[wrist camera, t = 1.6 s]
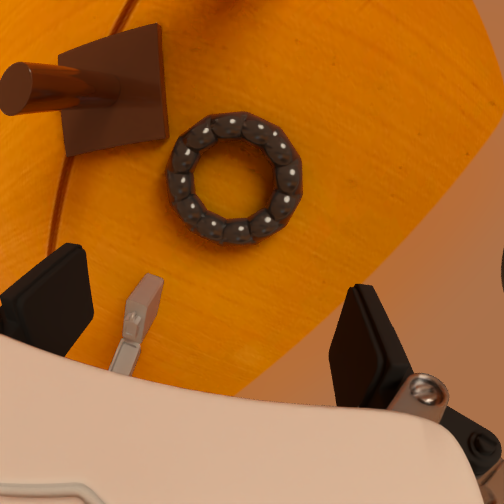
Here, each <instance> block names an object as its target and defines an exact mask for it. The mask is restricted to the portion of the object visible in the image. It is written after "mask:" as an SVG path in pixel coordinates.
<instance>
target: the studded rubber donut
mask: <svg viewBox="0 0 504 504" xmlns="http://www.w3.org/2000/svg"><path fill="white" fill-rule="evenodd" d="M238 140H241V141H243V142H245V143H247V144H249V145H251V146H253V147H255V148H258V149H260V150H261V151H262V153H263V154H264V156H265V157H266V159H267V160H268V162H269V163H270V165H271V166H272V168H273V181H274V190H273V192H272V194H271V196H270V197H269V199H268V201H267V203H266V205H265V207H264V208H262V209H260V210H259V211H257V212H256V213H254V214H252V215H251V216H249V217H248V218H233V219H226V218H224V217H222V216H220V215H217V214H215V213H213V212H211V211H209V210H207V208H206V207H205V205H204V204H203V203H202V201H201V200H200V199H199V197H198V196H197V195H196V192H195V184H194V175H193V172H194V170H195V168H196V165H197V163H198V161H199V159H200V156H201V154H203V153H204V152H205V151H207V150H208V149H210V148H211V147H212V146H214V145H215V144H217V143H218V142H226V141H238ZM165 176H166V184H167V191H168V198H169V203H170V205H171V207H172V208H173V210H174V211H175V212H176V214H177V215H178V216H179V218H180V219H181V220H182V222H183V223H184V224H185V226H186V227H187V228H188V230H189V231H190V232H192V233H194V234H196V235H198V236H200V237H202V238H204V239H206V240H208V241H211V242H213V243H215V244H217V245H219V246H244V245H256V244H258V243H260V242H261V241H263V240H265V239H266V238H268V237H270V236H272V235H273V234H275V233H277V232H278V231H280V230H282V229H283V228H284V227H285V226H286V225H287V224H288V222H289V220H290V218H291V217H292V215H293V213H294V211H295V209H296V208H297V206H298V204H299V202H300V200H301V198H302V195H303V180H302V161H301V158H300V156H299V154H298V153H297V151H296V150H295V148H294V147H293V145H292V143H291V142H290V140H289V139H288V137H287V136H286V134H285V133H284V132H283V130H282V129H281V128H280V127H278V126H277V125H275V124H273V123H270V122H268V121H266V120H264V119H262V118H260V117H258V116H256V115H254V114H251V113H249V112H245V111H241V112H229V113H219V114H211V115H208V116H206V117H204V118H203V119H201V120H200V121H199V122H197V123H196V124H195V125H193V126H192V127H191V128H189V129H188V130H187V131H185V132H184V133H183V134H181V135H180V136H179V137H178V139H177V141H176V143H175V146H174V148H173V151H172V153H171V155H170V158H169V160H168V163H167V165H166V168H165Z"/></svg>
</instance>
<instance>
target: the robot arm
mask: <svg viewBox="0 0 504 504" xmlns="http://www.w3.org/2000/svg"><path fill="white" fill-rule="evenodd" d="M0 299H1V303H2V306H1V307H0V504H504V460H503V459H502V458H501V452H502V450H501V444H500V442H499V440H498V439H497V437H496V436H495V435H494V434H493V433H492V432H490V431H489V430H487V429H486V428H484V427H482V426H480V425H479V424H477V423H475V422H474V421H472V420H470V419H468V418H467V417H465V416H463V415H462V414H460V413H458V412H457V411H455V410H453V409H452V408H450V407H448V406H447V404H448V401H449V393H448V390H447V388H446V386H445V385H444V384H443V383H442V382H441V381H440V380H439V379H437V378H436V377H434V376H432V375H429V374H425V373H415V374H414V372H413V370H412V367H411V365H410V363H409V361H408V358H407V356H406V354H405V352H404V349H403V347H402V345H401V343H400V340H399V339H398V337H397V334H396V332H395V330H394V328H393V326H392V324H391V322H390V320H389V318H388V316H387V314H386V312H385V310H384V308H383V306H382V304H381V302H380V300H379V298H378V296H377V294H376V292H375V290H374V288H373V286H371V285H364V284H355V286H354V287H350V288H349V289H348V292H347V295H346V299H345V302H344V305H343V308H342V312H341V315H340V318H339V321H338V324H337V328H336V331H335V334H334V337H333V340H332V343H331V346H330V349H329V362H330V368H331V374H332V380H333V386H334V391H335V397H336V404H337V406H325V405H308V404H295V403H294V404H293V403H283V402H273V401H264V400H255V399H247V398H240V397H233V396H226V395H220V394H213V393H207V392H202V391H196V390H191V389H185V388H180V387H175V386H170V385H165V384H161V383H156V382H152V381H148V380H143V379H139V378H135V377H131V376H127V375H123V374H119V373H115V372H112V371H108V370H105V369H101V368H98V367H94V366H91V365H87V364H84V363H81V362H78V361H75V360H71V359H68V358H65V355H66V354H67V352H68V351H69V350H70V348H71V347H72V346H73V344H74V343H75V342H76V340H77V339H78V338H79V336H80V335H81V334H82V332H83V331H84V330H85V328H86V327H87V326H88V324H89V323H90V322H91V320H92V319H93V315H94V309H93V303H92V296H91V290H90V283H89V275H88V267H87V259H86V252H85V250H84V249H83V248H82V246H81V245H78V244H72V243H65V244H64V245H62V246H61V247H60V248H58V249H57V250H56V251H54V252H53V253H52V254H50V255H49V256H48V257H46V258H45V259H44V260H43V261H41V262H40V263H39V264H37V265H36V266H35V267H34V268H32V269H31V270H30V271H29V272H27V273H26V274H25V275H24V276H22V277H21V278H20V279H19V280H18V281H16V282H15V283H14V284H13V285H12V286H10V287H9V288H8V289H7V290H6V291H5V292H3V293H2V294H1V295H0Z"/></svg>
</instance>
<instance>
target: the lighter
mask: <svg viewBox="0 0 504 504" xmlns="http://www.w3.org/2000/svg"><path fill="white" fill-rule="evenodd" d="M163 283H164V280H163V278H160V277H157V276H154V275H152V274H149V273H147V274H145V276H144V277H143V278H142V280H141V281H140V282H139V284H138V285H137V287H136V288H135V289H134V291H133V292H132V293H131V295H130V296H129V297H128V299H127V301H126V308H125V316H124V325H123V334H122V336H123V337H124V338H122V339H121V341H120V343H119V345H118V348H117V350H116V353H115V355H114V357H113V360H112V362H111V365H110V367H109V370H108V371H112V372H115V373H119V374H123V375H127V376H132V374H133V371H134V368H135V366H136V363H137V361H138V358H139V355H140V353H141V347H140V343H142V341H143V339H144V337H145V335H146V333H147V331H148V330H149V328H150V326H151V324H152V322H153V320H154V319H155V317H156V315H157V311H158V306H159V302H160V297H161V292H162V288H163Z"/></svg>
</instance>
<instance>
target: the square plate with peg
mask: <svg viewBox="0 0 504 504" xmlns="http://www.w3.org/2000/svg"><path fill="white" fill-rule="evenodd" d="M0 109H1V111H2V112H3V113H4V114H6V115H8V116H15V115H23V114H31V113H41V112H52V111H61V117H62V127H63V135H64V143H65V151H66V157H70V156H74V155H78V154H83V153H87V152H92V151H97V150H102V149H107V148H112V147H117V146H122V145H128V144H134V143H139V142H145V141H152V140H158V139H165V138H169V137H170V135H169V126H168V115H167V105H166V93H165V81H164V67H163V51H162V32H161V25H159V24H158V23H154V24H150V25H146V26H142V27H138V28H135V29H131V30H128V31H124V32H121V33H117V34H114V35H111V36H108V37H105V38H102V39H99V40H96V41H93V42H90V43H87V44H85V45H82V46H79V47H77V48H74V49H72V50H69V51H67V52H64V53H62V54H59V55H58V65H50V64H41V63H30V62H17V63H14V64H12V65H11V66H10V67H9V68H8V69H7V70H6V71H5V72H4V74H3V76H2V78H1V80H0Z"/></svg>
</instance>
